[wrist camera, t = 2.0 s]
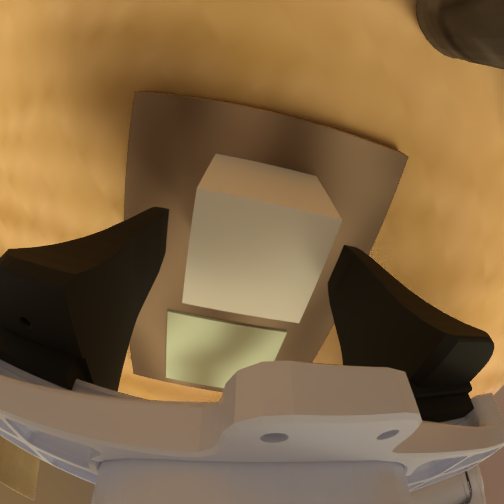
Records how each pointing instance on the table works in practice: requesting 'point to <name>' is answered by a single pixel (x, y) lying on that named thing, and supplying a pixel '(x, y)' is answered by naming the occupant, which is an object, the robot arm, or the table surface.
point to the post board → (180, 219)
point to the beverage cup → (465, 29)
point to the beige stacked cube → (258, 239)
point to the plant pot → (18, 468)
